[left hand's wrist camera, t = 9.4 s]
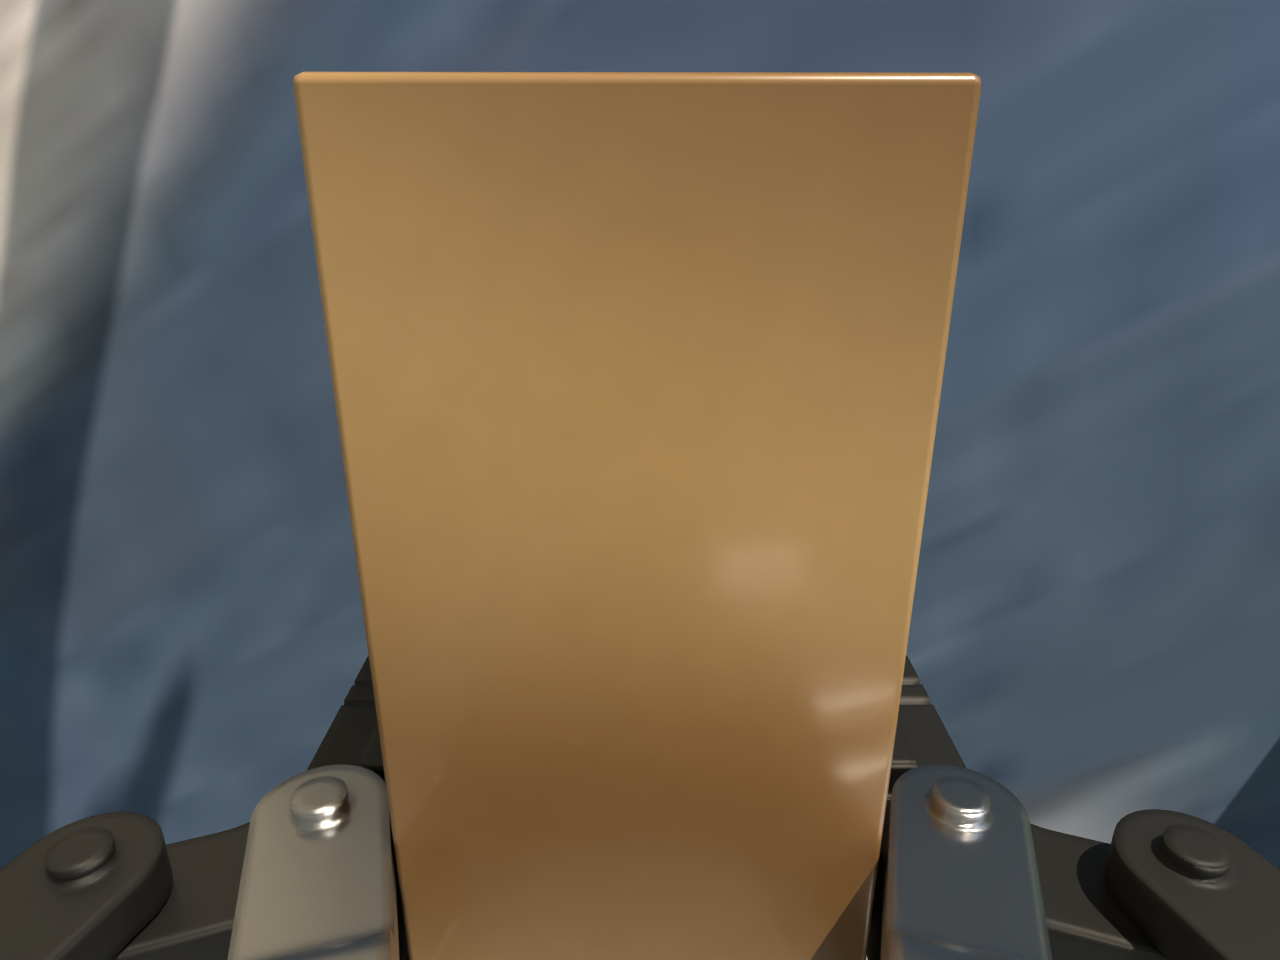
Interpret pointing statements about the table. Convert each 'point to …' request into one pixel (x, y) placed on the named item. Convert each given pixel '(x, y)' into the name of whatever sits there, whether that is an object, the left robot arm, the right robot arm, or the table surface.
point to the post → (637, 485)
